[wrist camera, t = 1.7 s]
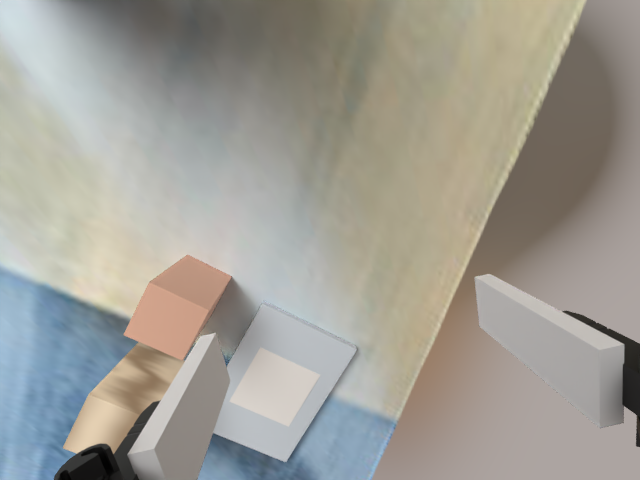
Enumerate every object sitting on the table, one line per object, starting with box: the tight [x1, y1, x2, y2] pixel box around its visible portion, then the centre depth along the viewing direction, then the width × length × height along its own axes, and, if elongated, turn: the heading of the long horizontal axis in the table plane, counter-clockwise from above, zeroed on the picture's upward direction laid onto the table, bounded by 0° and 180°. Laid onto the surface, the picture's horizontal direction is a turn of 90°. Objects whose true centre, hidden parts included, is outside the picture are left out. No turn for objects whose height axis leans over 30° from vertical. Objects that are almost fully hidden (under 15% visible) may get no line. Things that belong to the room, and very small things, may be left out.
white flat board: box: [213, 301, 357, 462], centre depth 42 cm, size 14×20×1 cm
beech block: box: [63, 342, 185, 454], centre depth 37 cm, size 7×7×10 cm
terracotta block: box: [124, 255, 232, 361], centre depth 34 cm, size 6×6×10 cm
